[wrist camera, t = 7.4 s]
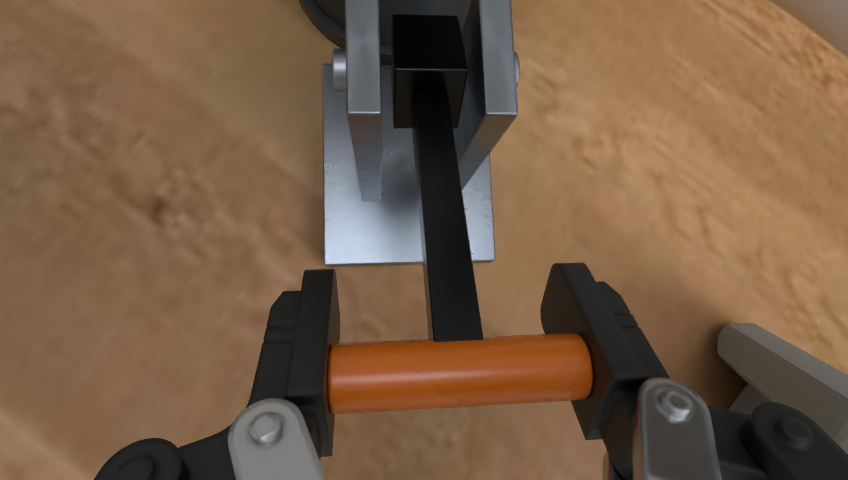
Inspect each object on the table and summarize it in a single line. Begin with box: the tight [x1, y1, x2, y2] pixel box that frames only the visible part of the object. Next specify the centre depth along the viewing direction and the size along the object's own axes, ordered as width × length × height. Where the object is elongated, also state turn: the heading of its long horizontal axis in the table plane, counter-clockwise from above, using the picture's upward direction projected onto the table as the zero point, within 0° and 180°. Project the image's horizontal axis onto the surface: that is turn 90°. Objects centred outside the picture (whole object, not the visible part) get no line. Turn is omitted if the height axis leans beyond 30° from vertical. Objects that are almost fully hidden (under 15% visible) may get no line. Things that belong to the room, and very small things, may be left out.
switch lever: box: [328, 14, 593, 414], centre depth 13 cm, size 12×6×2 cm, turn 2°
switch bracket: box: [323, 0, 519, 267], centre depth 20 cm, size 11×9×13 cm
